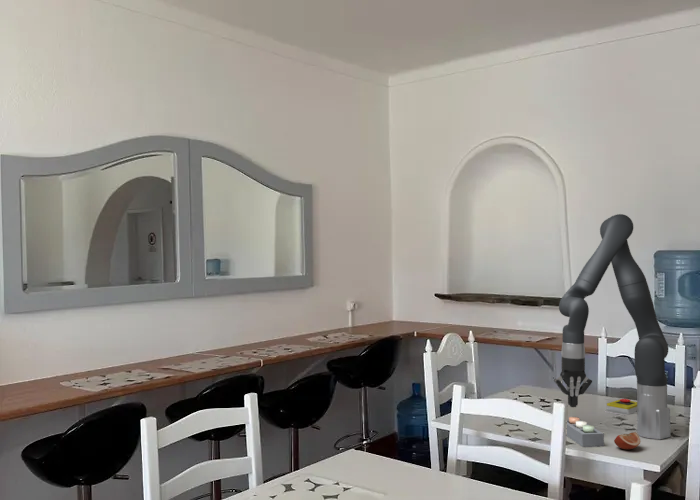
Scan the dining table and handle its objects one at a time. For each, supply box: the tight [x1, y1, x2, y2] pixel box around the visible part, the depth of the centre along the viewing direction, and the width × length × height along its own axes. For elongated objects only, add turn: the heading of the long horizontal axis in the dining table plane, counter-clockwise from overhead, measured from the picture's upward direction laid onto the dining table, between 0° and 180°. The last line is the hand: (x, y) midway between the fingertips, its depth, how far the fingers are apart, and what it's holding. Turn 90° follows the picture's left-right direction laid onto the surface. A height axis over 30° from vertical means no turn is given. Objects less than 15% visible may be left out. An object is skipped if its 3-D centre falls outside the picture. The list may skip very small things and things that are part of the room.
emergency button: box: [603, 398, 637, 416], centre depth 259 cm, size 9×4×15 cm
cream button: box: [576, 420, 588, 429], centre depth 221 cm, size 3×3×2 cm
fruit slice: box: [613, 431, 642, 450], centre depth 209 cm, size 8×7×5 cm
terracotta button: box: [568, 416, 581, 424], centre depth 227 cm, size 3×3×2 cm
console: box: [566, 419, 605, 448], centre depth 221 cm, size 18×7×4 cm, turn 5°
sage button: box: [583, 424, 595, 433], centre depth 216 cm, size 3×3×2 cm
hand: (572, 406), depth 227 cm, fingers closed
